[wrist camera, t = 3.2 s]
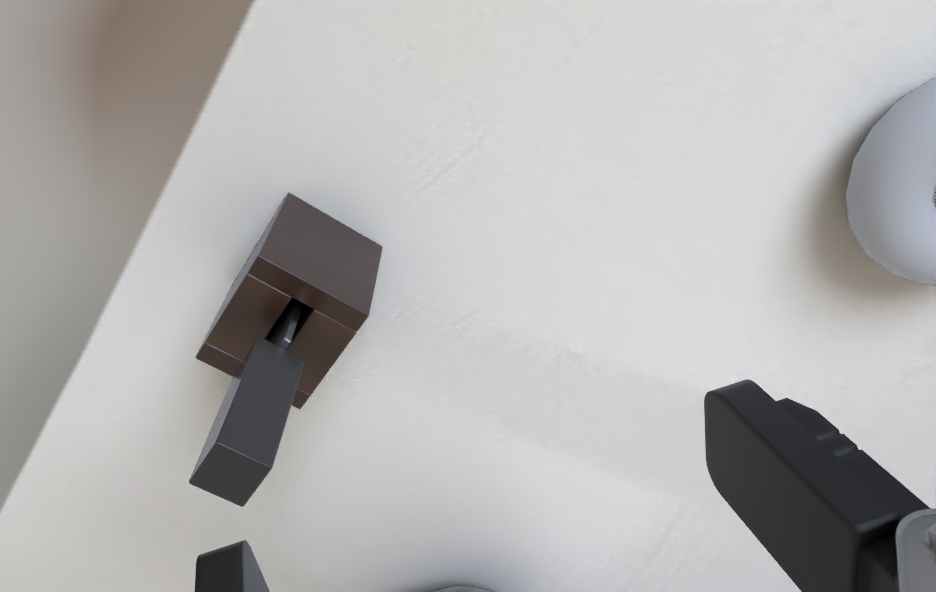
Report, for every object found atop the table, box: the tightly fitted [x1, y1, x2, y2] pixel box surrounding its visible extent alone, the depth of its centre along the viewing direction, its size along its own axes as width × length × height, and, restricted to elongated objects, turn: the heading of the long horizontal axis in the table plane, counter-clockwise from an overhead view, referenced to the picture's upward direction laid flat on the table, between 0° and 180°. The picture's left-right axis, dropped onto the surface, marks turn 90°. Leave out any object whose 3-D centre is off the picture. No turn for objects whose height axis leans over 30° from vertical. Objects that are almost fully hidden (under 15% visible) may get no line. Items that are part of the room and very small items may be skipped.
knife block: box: [196, 193, 382, 409], centre depth 35 cm, size 6×5×6 cm
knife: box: [189, 297, 305, 507], centre depth 32 cm, size 3×2×14 cm, turn 146°
